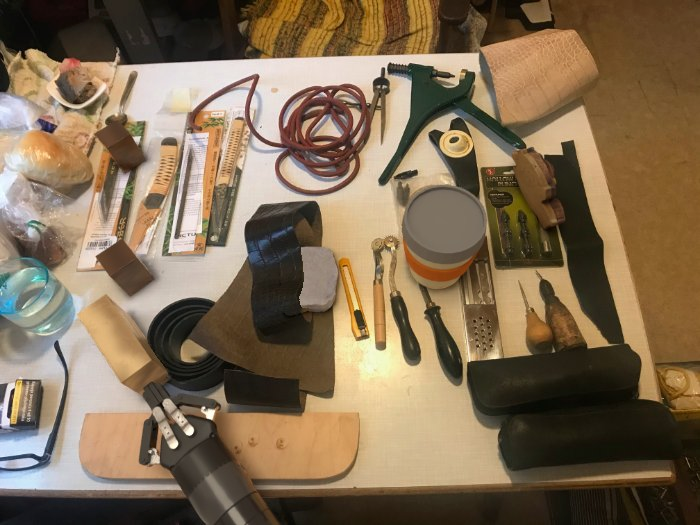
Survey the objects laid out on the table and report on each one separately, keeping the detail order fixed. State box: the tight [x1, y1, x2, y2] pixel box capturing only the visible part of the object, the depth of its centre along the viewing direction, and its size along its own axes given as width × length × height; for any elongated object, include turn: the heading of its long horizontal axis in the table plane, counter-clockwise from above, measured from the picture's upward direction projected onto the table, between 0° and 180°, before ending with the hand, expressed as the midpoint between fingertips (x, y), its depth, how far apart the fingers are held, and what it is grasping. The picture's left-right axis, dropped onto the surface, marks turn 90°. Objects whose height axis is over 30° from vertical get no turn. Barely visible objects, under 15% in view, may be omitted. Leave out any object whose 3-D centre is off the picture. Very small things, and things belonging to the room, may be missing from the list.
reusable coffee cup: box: [401, 184, 488, 290], centre depth 81 cm, size 13×13×15 cm
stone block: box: [299, 246, 339, 313], centre depth 86 cm, size 12×5×10 cm
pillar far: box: [94, 119, 147, 175], centre depth 99 cm, size 5×5×8 cm
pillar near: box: [95, 238, 156, 297], centre depth 86 cm, size 5×5×8 cm
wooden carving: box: [511, 146, 566, 230], centre depth 89 cm, size 16×5×10 cm, turn 20°
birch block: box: [76, 294, 171, 397], centre depth 79 cm, size 5×14×9 cm, turn 41°
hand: (149, 386), depth 74 cm, fingers closed
